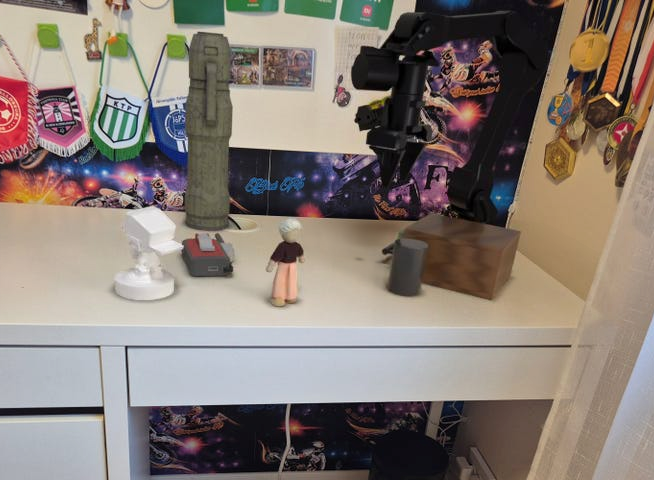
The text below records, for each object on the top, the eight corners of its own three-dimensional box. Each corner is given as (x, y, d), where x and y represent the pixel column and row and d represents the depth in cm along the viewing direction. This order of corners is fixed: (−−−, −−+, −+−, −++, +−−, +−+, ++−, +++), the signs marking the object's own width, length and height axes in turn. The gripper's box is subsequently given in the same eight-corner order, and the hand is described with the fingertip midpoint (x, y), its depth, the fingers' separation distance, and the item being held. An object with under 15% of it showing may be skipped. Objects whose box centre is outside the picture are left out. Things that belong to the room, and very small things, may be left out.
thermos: (190, 233, 124) (191, 31, 108) (180, 216, 134) (180, 29, 118) (234, 232, 127) (242, 35, 111) (222, 216, 137) (227, 34, 121)
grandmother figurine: (281, 311, 93) (288, 225, 87) (259, 304, 95) (265, 219, 89) (308, 297, 99) (316, 216, 93) (288, 290, 101) (294, 210, 95)
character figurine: (144, 275, 101) (142, 199, 96) (191, 290, 97) (192, 212, 92) (102, 290, 94) (97, 209, 89) (151, 306, 90) (149, 223, 85)
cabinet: (397, 276, 111) (404, 228, 108) (423, 257, 123) (431, 213, 119) (491, 300, 105) (503, 249, 101) (510, 277, 117) (521, 231, 113)
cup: (394, 282, 109) (401, 236, 105) (424, 289, 107) (432, 243, 103) (382, 290, 104) (389, 243, 101) (413, 299, 102) (422, 250, 99)
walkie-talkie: (244, 278, 104) (222, 242, 121) (246, 252, 102) (223, 218, 119) (190, 279, 101) (175, 242, 118) (190, 252, 99) (175, 218, 116)
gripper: (384, 86, 123) (373, 169, 130) (343, 88, 108) (333, 182, 115) (439, 93, 119) (425, 179, 126) (405, 96, 104) (391, 193, 111)
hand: (393, 183), depth 119 cm, fingers open, 9 cm apart
